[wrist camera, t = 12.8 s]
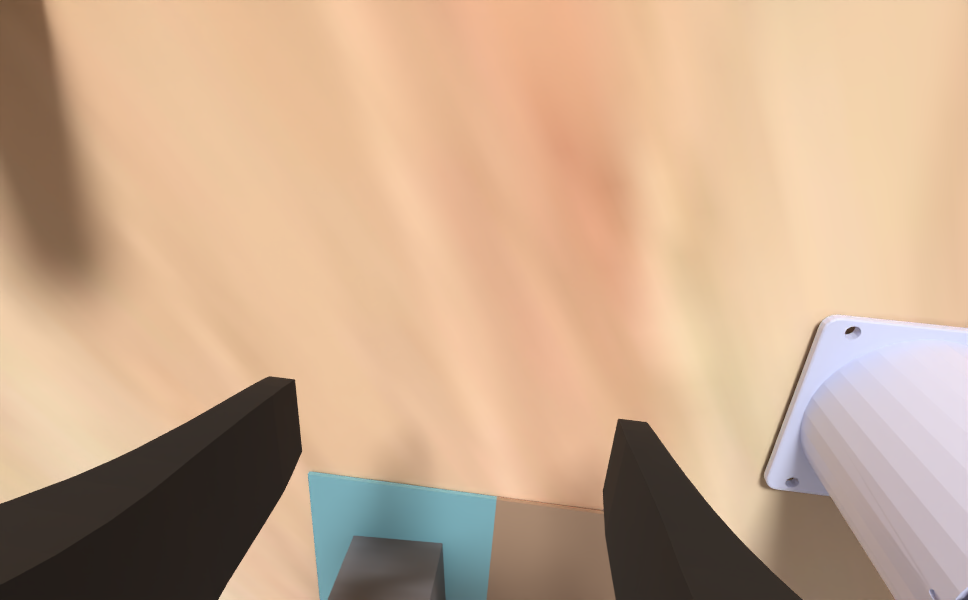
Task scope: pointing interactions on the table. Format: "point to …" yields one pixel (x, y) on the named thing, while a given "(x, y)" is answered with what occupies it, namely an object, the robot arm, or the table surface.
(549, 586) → the board
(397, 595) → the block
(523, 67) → the table surface
